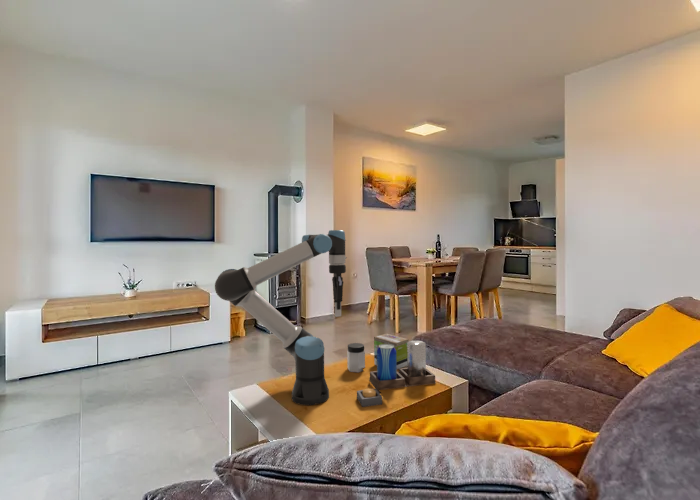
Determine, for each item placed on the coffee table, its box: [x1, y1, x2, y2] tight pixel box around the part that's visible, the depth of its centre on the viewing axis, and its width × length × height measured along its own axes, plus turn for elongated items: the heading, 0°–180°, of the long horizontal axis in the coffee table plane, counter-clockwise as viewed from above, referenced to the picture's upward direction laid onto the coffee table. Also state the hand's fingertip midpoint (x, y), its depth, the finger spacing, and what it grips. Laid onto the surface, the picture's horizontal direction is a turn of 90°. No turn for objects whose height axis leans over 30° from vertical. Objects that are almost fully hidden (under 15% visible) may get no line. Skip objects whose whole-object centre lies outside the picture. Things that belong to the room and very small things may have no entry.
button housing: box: [356, 388, 383, 408], centre depth 142 cm, size 8×8×3 cm
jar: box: [346, 342, 366, 373], centre depth 177 cm, size 9×8×12 cm
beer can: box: [376, 344, 398, 381], centre depth 156 cm, size 8×8×16 cm
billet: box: [407, 340, 427, 377], centre depth 160 cm, size 8×8×16 cm
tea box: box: [373, 333, 410, 371], centre depth 180 cm, size 15×10×15 cm
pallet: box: [368, 367, 437, 395], centre depth 158 cm, size 26×14×4 cm, turn 104°
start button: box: [362, 388, 376, 398], centre depth 142 cm, size 5×5×3 cm
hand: (338, 316), depth 163 cm, fingers closed
